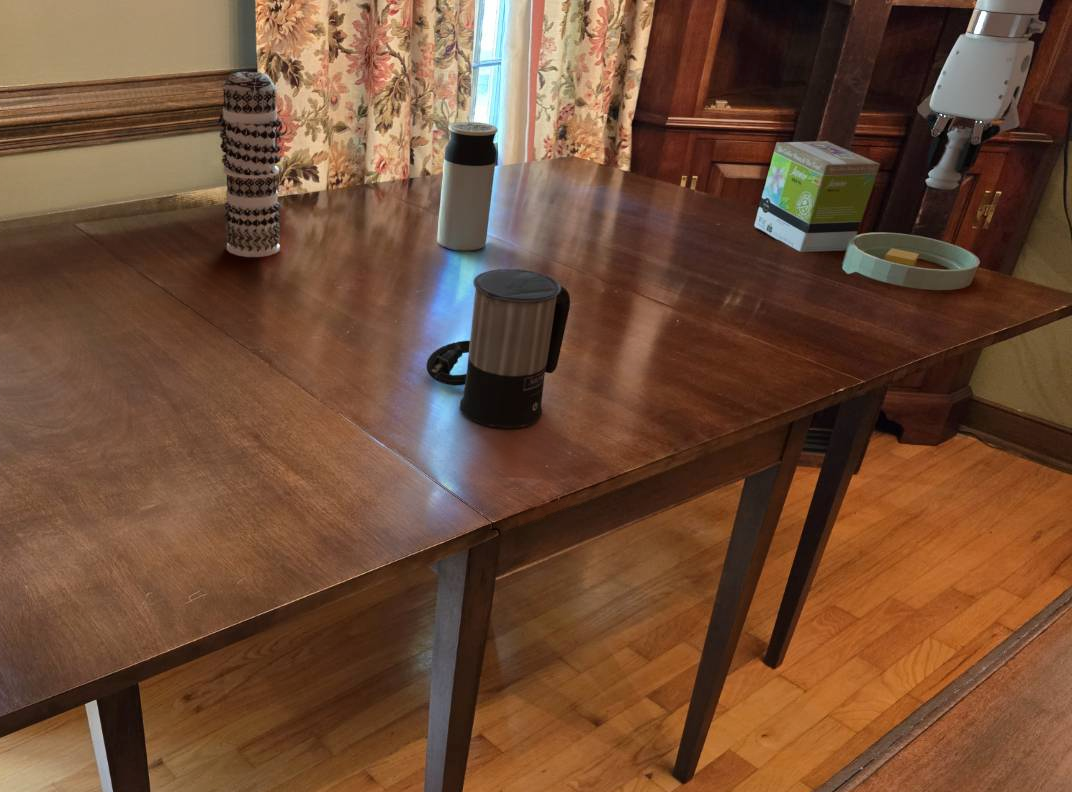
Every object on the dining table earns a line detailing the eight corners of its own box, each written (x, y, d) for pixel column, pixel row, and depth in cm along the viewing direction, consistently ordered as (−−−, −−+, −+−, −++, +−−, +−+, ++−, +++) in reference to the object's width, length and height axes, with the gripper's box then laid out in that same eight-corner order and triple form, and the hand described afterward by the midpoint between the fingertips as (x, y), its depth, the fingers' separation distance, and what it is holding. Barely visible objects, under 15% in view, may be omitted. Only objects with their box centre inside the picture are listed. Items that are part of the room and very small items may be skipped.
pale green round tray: (988, 285, 149) (1000, 256, 147) (934, 309, 140) (946, 279, 137) (875, 253, 161) (885, 226, 158) (818, 272, 151) (827, 244, 149)
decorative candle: (260, 262, 146) (256, 82, 132) (212, 250, 150) (203, 74, 136) (294, 246, 152) (294, 74, 138) (247, 235, 156) (242, 66, 142)
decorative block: (910, 279, 149) (919, 253, 146) (904, 286, 146) (914, 260, 144) (882, 273, 150) (891, 247, 148) (876, 279, 148) (885, 254, 145)
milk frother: (525, 438, 103) (546, 305, 94) (392, 404, 108) (401, 275, 100) (563, 388, 113) (585, 265, 105) (440, 359, 119) (451, 240, 110)
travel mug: (488, 252, 154) (502, 133, 143) (438, 250, 153) (449, 131, 143) (482, 237, 160) (496, 122, 150) (435, 235, 160) (445, 120, 150)
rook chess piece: (925, 180, 144) (945, 123, 139) (958, 185, 142) (980, 127, 137) (922, 186, 140) (944, 128, 136) (956, 191, 139) (979, 132, 134)
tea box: (750, 228, 170) (774, 139, 162) (801, 226, 172) (827, 139, 164) (798, 255, 158) (827, 162, 150) (852, 254, 160) (884, 161, 152)
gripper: (1078, 33, 126) (1018, 177, 137) (950, 18, 137) (903, 153, 147) (1055, 36, 122) (995, 185, 133) (925, 20, 133) (879, 159, 143)
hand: (947, 167), depth 140 cm, fingers closed on rook chess piece, 3 cm apart
